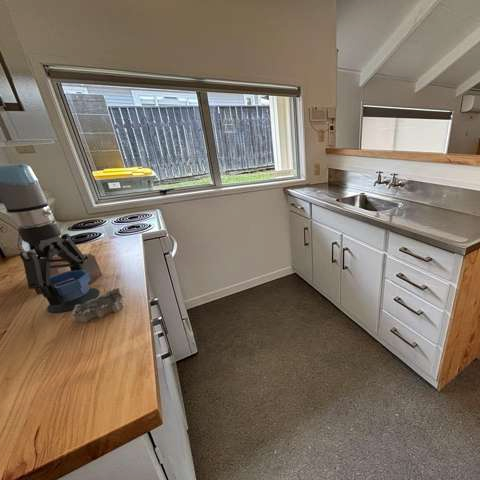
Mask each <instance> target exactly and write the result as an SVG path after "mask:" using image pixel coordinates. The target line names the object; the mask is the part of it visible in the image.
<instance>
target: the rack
mask: <svg viewBox="0 0 480 480" xmlns="http://www.w3.org/2000/svg"><path fill="white" fill-rule="evenodd" d="M82 254H83V253H82ZM83 255H84V257H85V259H84V260H82V261H85V263H84V264H81V265H82V267H83V269H84V270H85V271H86V272H87V273H88V275H89V277H90V279H91V281H89V283H88V285H89V286H91V285H92V284H93V283H94V282H95V281H97V280H98V279H99V278H101V277H102V276H103V273H102V271H101V269H100V266H99V264H98V262H97V259H96V256H95V255H94V254H91V253H84V254H83ZM77 257H79V256H77ZM61 261H65V260H64V259H62V258H61V257H53V259H52V261H51V262H50V277H52V276H55V275H58V274H60V273H59V271H58V269H57V268H61V267H70V266H73V265H71V264H69V263H68V262H61ZM54 262H59V263H54ZM34 291H35V292H36V294H37V295H41V294H42V292H41V291H40V289H39V288H36V289H34ZM42 295H43V294H42Z"/></svg>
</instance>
